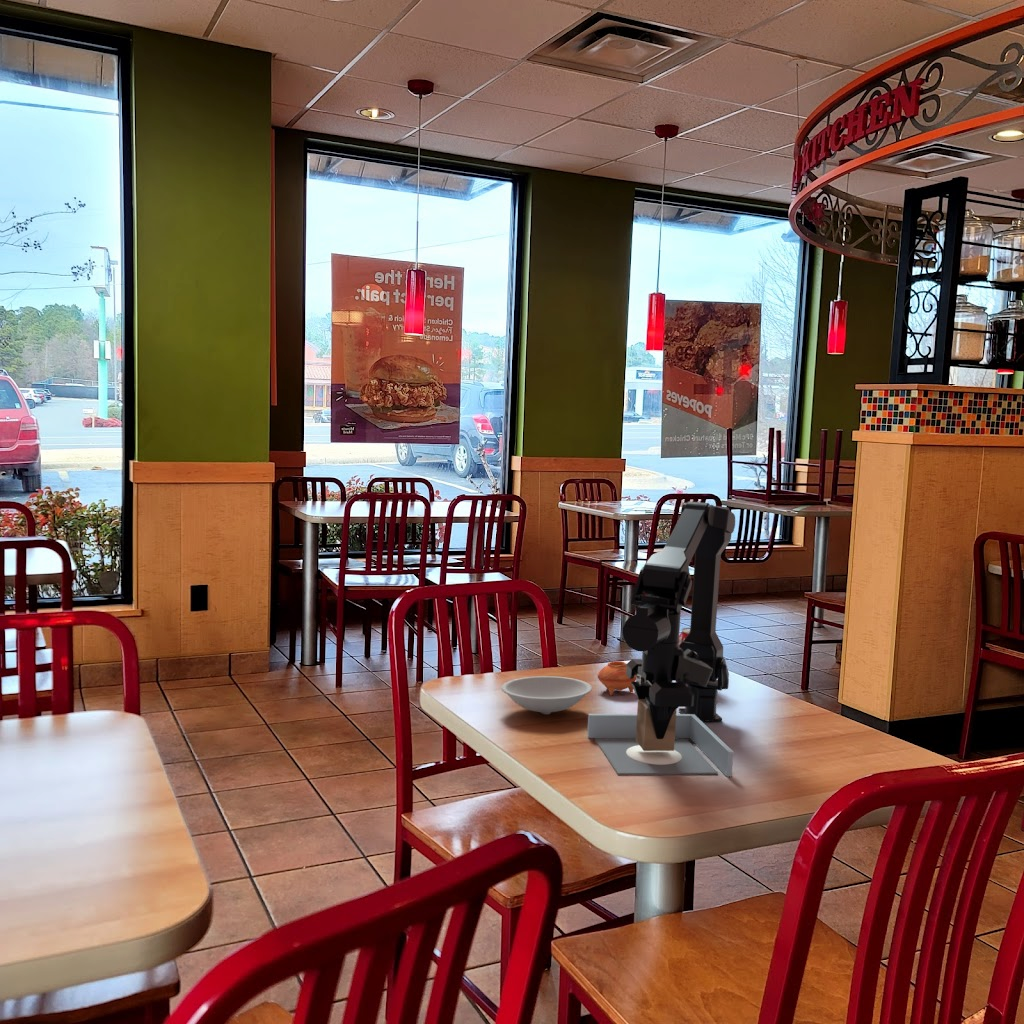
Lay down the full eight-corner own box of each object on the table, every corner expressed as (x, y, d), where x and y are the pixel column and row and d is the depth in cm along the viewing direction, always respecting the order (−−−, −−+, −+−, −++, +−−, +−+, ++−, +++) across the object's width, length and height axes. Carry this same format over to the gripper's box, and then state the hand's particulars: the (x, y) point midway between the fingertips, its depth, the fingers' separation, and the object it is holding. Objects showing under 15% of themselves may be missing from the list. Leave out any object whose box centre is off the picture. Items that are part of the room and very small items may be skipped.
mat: (595, 740, 163) (595, 737, 163) (685, 740, 165) (685, 737, 165) (617, 775, 147) (618, 772, 147) (717, 774, 150) (717, 771, 150)
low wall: (587, 736, 165) (588, 713, 165) (692, 736, 168) (694, 714, 167) (613, 777, 146) (614, 752, 146) (731, 776, 149) (733, 751, 149)
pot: (633, 699, 188) (626, 665, 188) (596, 702, 191) (589, 668, 191) (645, 688, 195) (639, 655, 195) (609, 691, 198) (603, 659, 198)
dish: (526, 731, 167) (527, 703, 166) (485, 708, 179) (486, 681, 178) (607, 718, 176) (608, 691, 175) (562, 697, 188) (564, 672, 187)
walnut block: (635, 740, 158) (638, 699, 158) (664, 740, 159) (667, 699, 158) (643, 750, 154) (646, 708, 153) (673, 750, 154) (676, 708, 154)
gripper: (729, 654, 146) (722, 753, 148) (690, 627, 165) (685, 715, 166) (658, 653, 145) (652, 753, 146) (627, 626, 163) (622, 715, 165)
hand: (655, 733), depth 156 cm, fingers closed on walnut block, 5 cm apart
